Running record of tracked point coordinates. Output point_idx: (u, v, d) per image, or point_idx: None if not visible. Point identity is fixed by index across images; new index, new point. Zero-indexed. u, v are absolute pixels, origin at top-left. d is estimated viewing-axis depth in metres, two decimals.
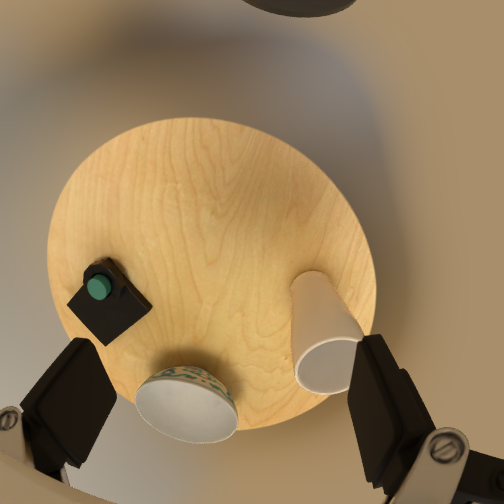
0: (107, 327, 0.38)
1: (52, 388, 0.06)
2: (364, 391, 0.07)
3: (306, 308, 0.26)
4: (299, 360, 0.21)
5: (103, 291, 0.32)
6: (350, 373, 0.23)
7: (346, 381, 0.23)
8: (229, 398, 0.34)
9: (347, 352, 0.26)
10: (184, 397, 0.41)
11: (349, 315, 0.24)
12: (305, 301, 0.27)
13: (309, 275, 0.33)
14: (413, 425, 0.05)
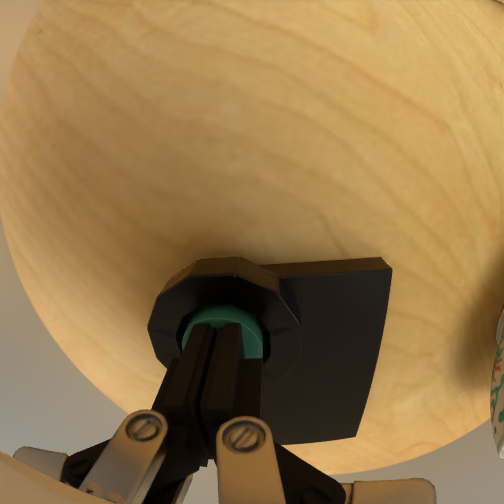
0: (332, 409, 0.14)
1: (196, 379, 0.07)
2: None
3: None
4: None
5: None
6: None
7: None
8: None
9: None
10: None
11: None
12: None
13: None
14: (216, 404, 0.06)
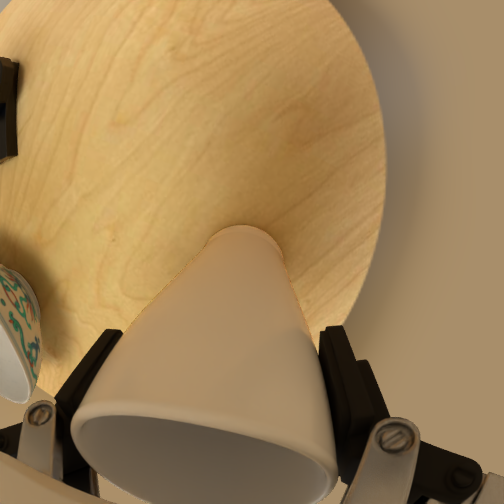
0: None
1: (88, 379, 0.07)
2: None
3: (214, 273, 0.09)
4: (87, 414, 0.04)
5: None
6: (233, 484, 0.07)
7: (214, 498, 0.07)
8: (28, 354, 0.16)
9: None
10: None
11: (317, 356, 0.08)
12: (222, 260, 0.11)
13: (255, 233, 0.16)
14: (361, 412, 0.05)
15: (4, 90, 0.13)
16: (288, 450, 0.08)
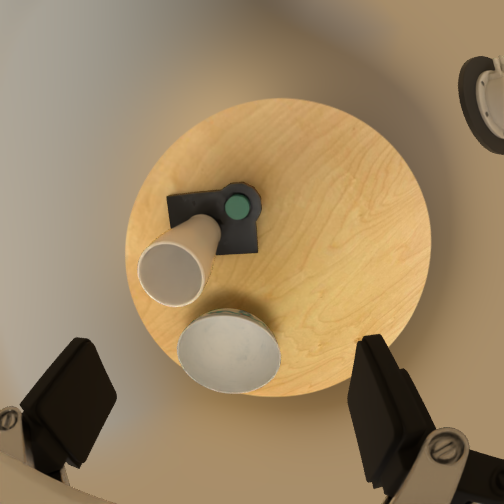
0: None
1: (52, 388, 0.06)
2: (364, 391, 0.07)
3: (181, 225, 0.30)
4: (147, 248, 0.25)
5: (243, 213, 0.36)
6: (183, 297, 0.28)
7: (175, 300, 0.27)
8: None
9: (193, 284, 0.30)
10: (213, 340, 0.45)
11: (208, 248, 0.28)
12: (185, 223, 0.31)
13: (205, 217, 0.37)
14: (413, 425, 0.05)
15: None
16: None
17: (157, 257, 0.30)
